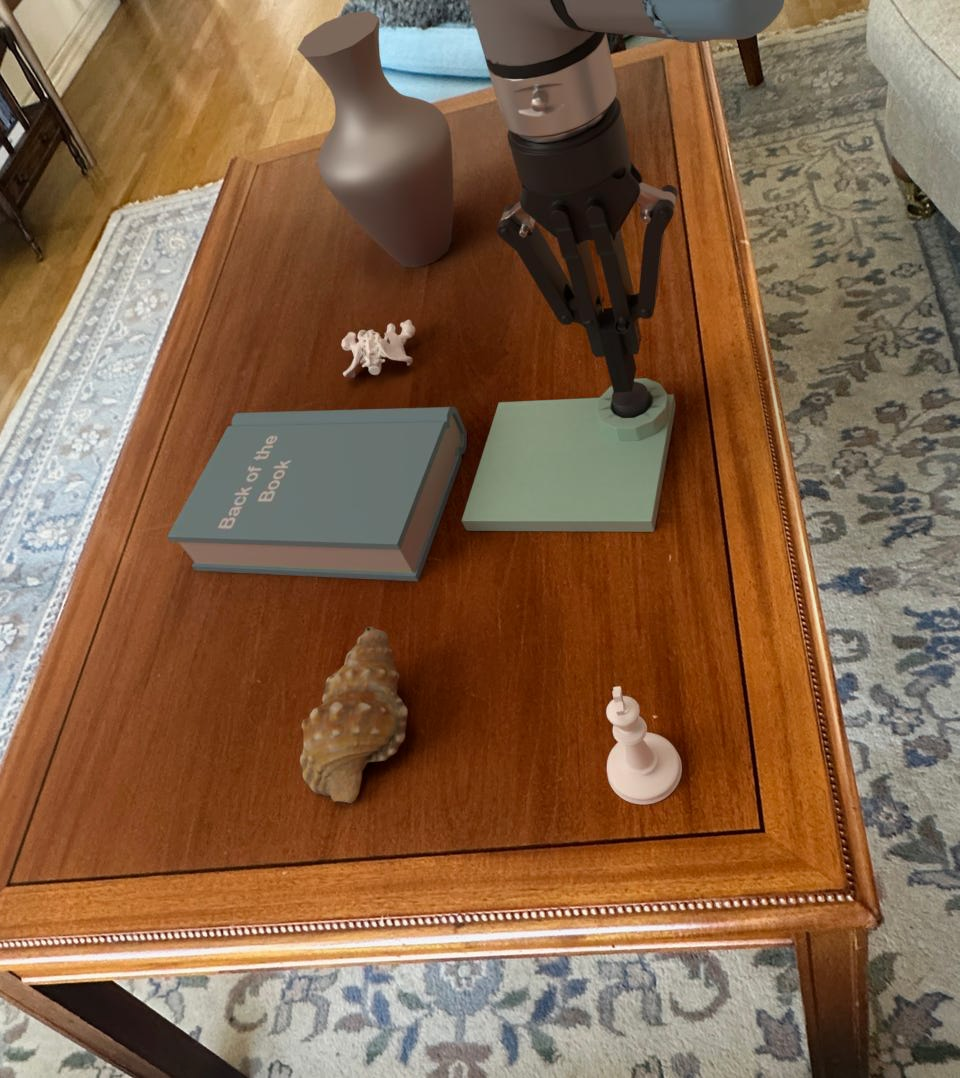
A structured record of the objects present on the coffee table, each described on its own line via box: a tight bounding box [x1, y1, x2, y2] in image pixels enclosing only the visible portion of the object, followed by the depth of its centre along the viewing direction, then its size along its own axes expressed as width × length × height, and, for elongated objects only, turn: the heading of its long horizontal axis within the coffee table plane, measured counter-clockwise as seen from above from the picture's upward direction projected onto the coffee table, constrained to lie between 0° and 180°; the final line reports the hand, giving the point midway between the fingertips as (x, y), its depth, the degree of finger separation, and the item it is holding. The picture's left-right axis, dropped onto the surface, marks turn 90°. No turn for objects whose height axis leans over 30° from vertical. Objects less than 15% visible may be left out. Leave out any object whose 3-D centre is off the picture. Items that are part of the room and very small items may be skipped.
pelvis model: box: [340, 319, 416, 379], centre depth 99 cm, size 8×4×7 cm
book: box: [166, 406, 468, 582], centre depth 88 cm, size 23×16×5 cm
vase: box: [296, 10, 454, 269], centre depth 103 cm, size 14×14×25 cm
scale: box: [461, 377, 677, 533], centre depth 83 cm, size 16×14×3 cm
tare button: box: [612, 382, 650, 418], centre depth 82 cm, size 3×3×1 cm
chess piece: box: [605, 685, 683, 806], centre depth 61 cm, size 5×5×10 cm
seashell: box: [299, 626, 409, 804], centre depth 71 cm, size 9×8×10 cm
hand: (625, 380), depth 81 cm, fingers closed
